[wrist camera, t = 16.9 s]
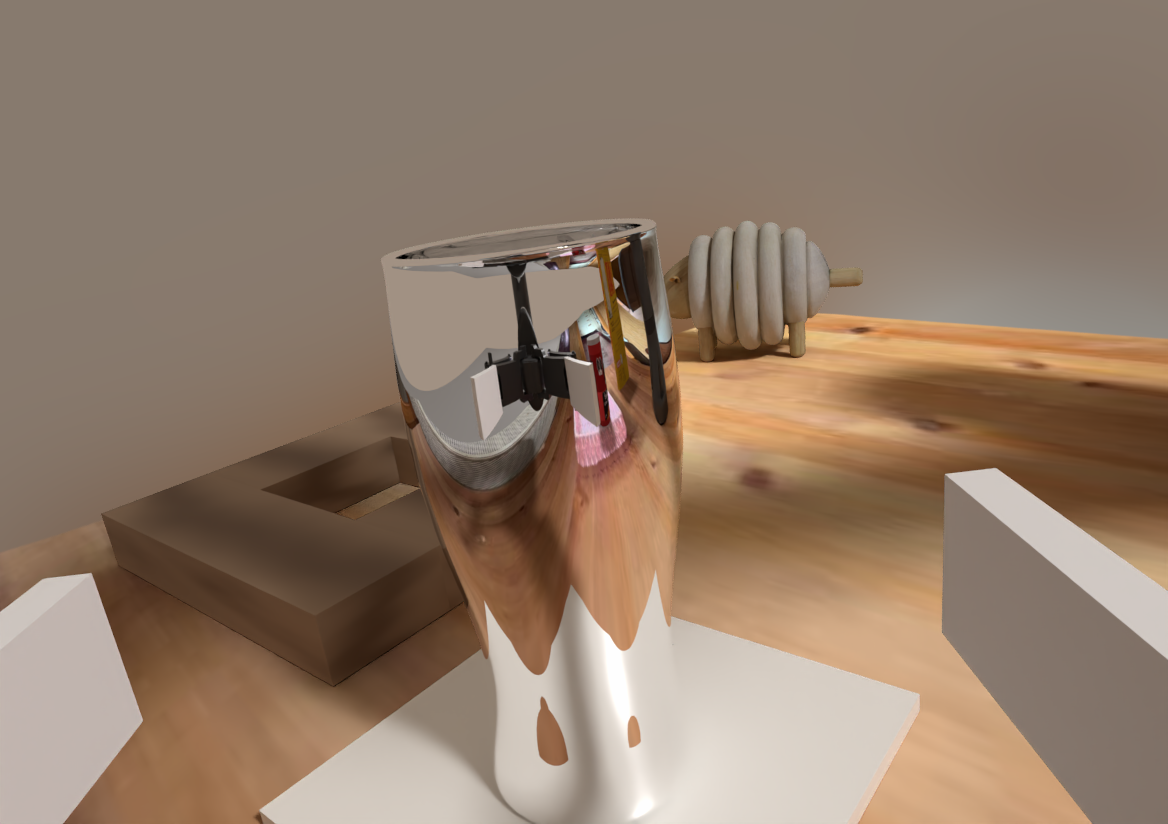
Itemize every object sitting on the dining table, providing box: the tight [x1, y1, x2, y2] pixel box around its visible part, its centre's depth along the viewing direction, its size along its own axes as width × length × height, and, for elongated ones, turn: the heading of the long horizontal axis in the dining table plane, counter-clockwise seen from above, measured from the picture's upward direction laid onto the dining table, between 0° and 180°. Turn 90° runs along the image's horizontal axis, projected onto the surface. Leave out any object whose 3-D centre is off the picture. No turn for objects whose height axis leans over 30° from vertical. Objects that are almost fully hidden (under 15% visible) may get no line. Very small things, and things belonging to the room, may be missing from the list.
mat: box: [259, 616, 920, 824], centre depth 23 cm, size 14×14×1 cm
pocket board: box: [102, 402, 463, 686], centre depth 42 cm, size 20×20×3 cm
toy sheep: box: [663, 221, 863, 362], centre depth 66 cm, size 11×17×11 cm, turn 79°
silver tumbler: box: [381, 219, 697, 824], centre depth 21 cm, size 7×7×15 cm
